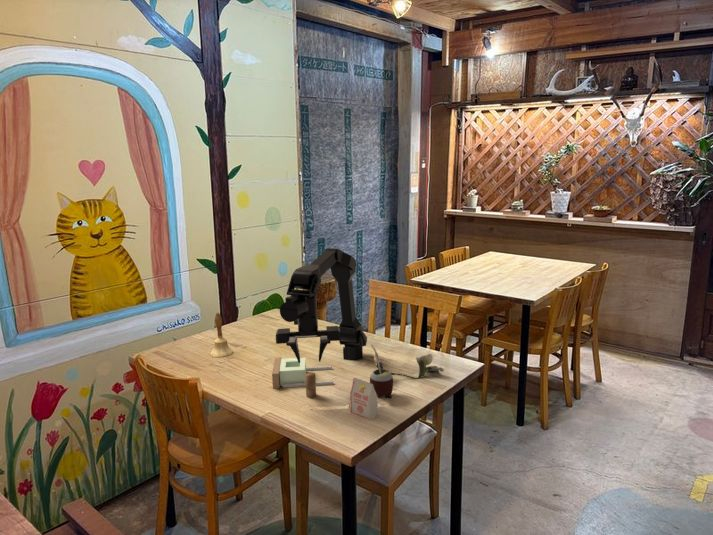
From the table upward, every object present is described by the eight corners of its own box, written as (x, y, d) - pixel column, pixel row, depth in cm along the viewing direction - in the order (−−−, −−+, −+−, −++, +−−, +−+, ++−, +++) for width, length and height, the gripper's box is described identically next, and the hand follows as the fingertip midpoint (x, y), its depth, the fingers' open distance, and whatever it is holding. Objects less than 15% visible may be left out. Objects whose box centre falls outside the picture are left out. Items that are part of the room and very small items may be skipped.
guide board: (335, 371, 176) (334, 354, 175) (336, 387, 163) (336, 370, 162) (276, 374, 175) (275, 357, 173) (273, 391, 162) (272, 373, 161)
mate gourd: (389, 403, 152) (388, 355, 149) (364, 399, 155) (363, 353, 152) (396, 392, 159) (396, 346, 156) (372, 389, 162) (371, 344, 159)
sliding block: (306, 371, 174) (305, 357, 173) (305, 384, 164) (304, 369, 163) (282, 372, 173) (281, 358, 172) (280, 385, 163) (279, 371, 162)
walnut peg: (316, 396, 158) (315, 372, 156) (316, 400, 155) (315, 376, 153) (306, 397, 158) (305, 372, 156) (306, 401, 155) (305, 376, 153)
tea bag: (359, 407, 150) (358, 375, 148) (377, 414, 146) (376, 381, 144) (350, 412, 148) (349, 380, 145) (369, 419, 143) (368, 386, 141)
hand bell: (225, 358, 190) (221, 317, 186) (205, 356, 192) (201, 315, 189) (237, 350, 197) (233, 310, 194) (218, 348, 200) (214, 308, 197)
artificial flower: (372, 379, 172) (374, 349, 173) (438, 382, 175) (439, 352, 176) (376, 383, 163) (378, 352, 164) (445, 386, 166) (447, 355, 167)
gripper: (337, 302, 159) (339, 350, 162) (276, 305, 158) (279, 353, 161) (339, 313, 148) (341, 364, 152) (274, 316, 147) (277, 367, 150)
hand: (309, 361), depth 154 cm, fingers open, 6 cm apart
